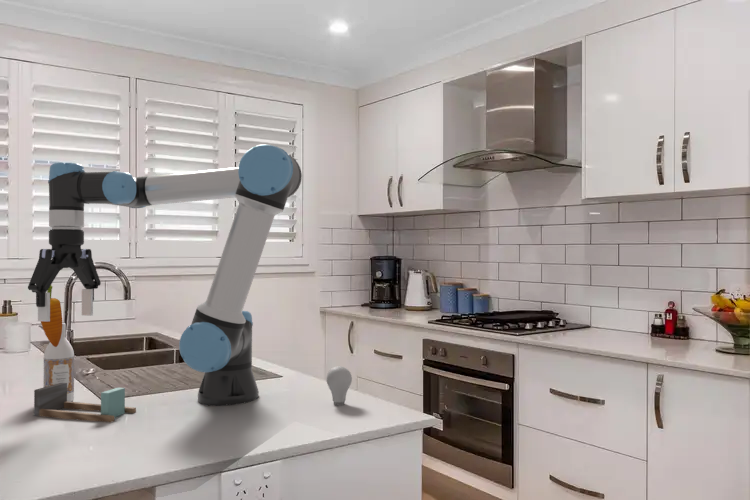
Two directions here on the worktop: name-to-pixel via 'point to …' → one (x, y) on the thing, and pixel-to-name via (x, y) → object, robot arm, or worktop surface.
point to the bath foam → (60, 364)
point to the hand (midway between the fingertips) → (66, 318)
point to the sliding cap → (113, 402)
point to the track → (66, 405)
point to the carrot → (53, 321)
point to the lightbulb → (339, 384)
